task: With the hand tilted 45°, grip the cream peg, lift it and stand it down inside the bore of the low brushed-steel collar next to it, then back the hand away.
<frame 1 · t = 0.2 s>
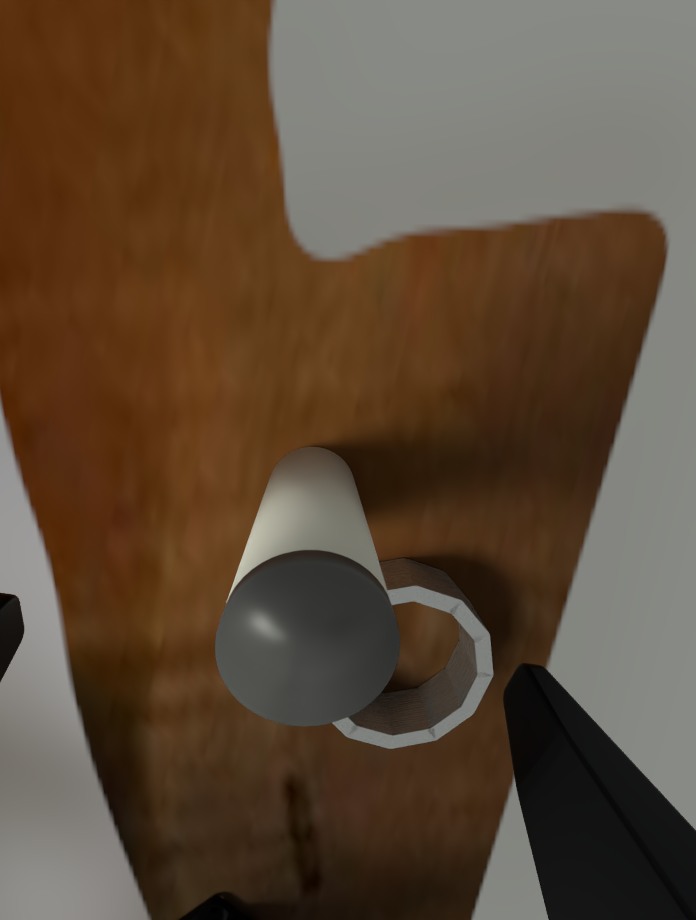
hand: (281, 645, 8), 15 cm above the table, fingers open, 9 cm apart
collar: (392, 634, 26), on the table
peg: (312, 488, 24), on the table
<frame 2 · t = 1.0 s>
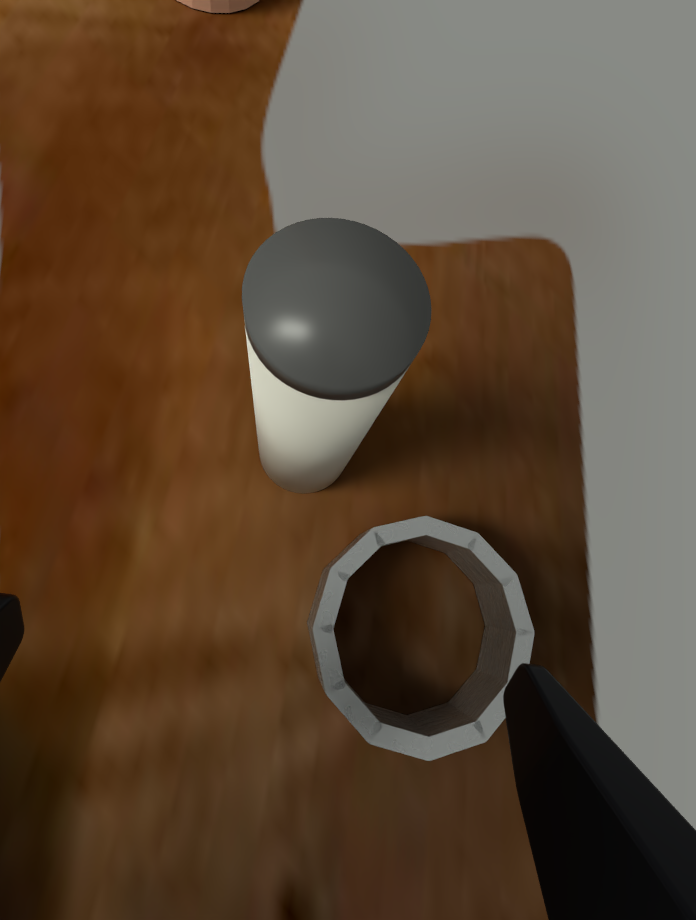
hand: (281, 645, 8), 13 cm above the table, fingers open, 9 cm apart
collar: (407, 623, 22), on the table
peg: (303, 450, 23), on the table
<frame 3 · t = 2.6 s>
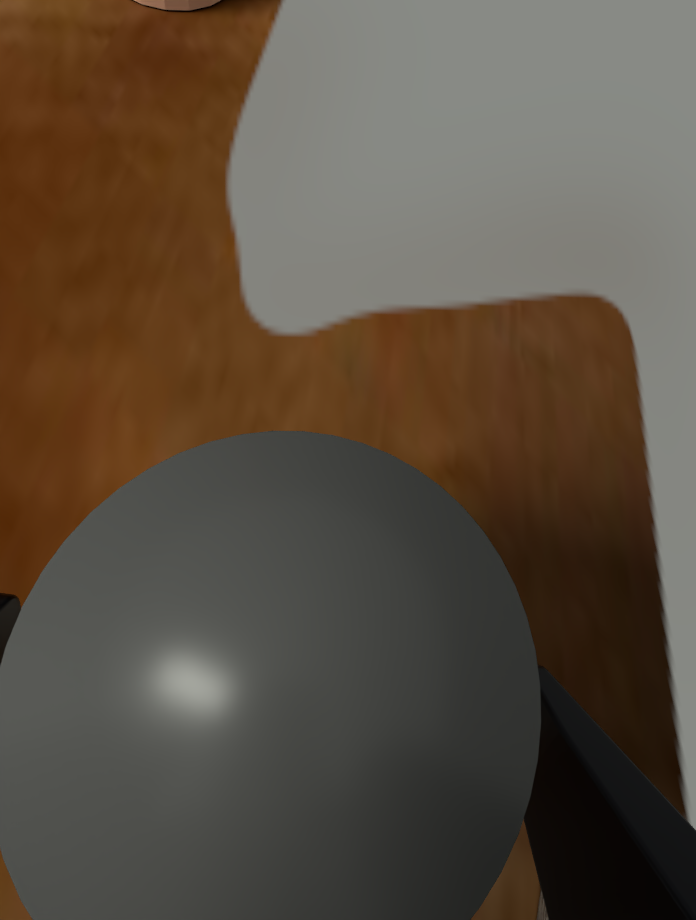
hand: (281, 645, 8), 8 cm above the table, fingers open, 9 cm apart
peg: (277, 612, 16), on the table
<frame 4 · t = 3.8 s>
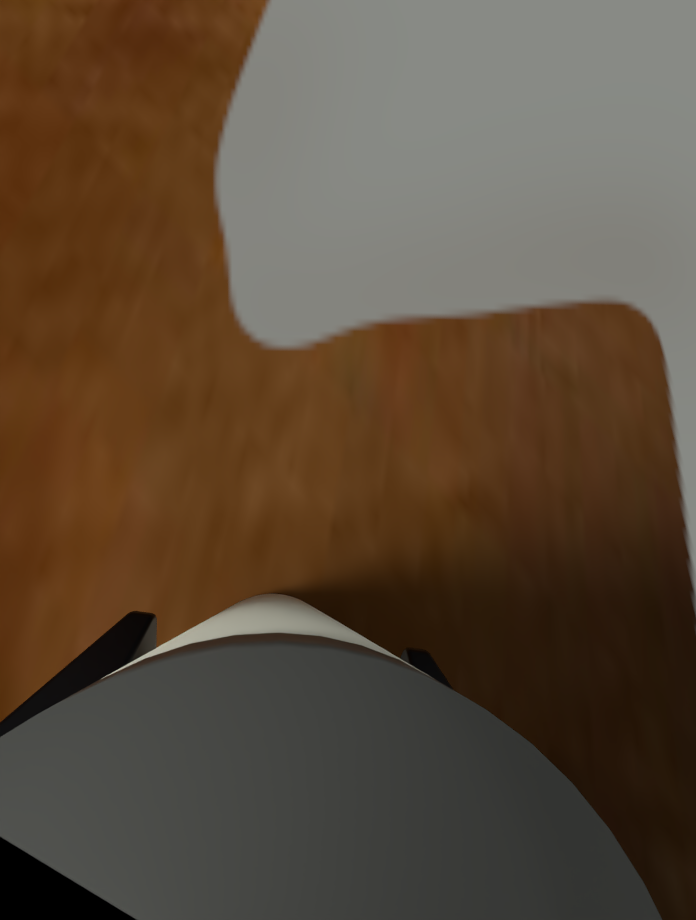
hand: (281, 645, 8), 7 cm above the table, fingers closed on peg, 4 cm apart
peg: (269, 668, 14), on the table, touching gripper
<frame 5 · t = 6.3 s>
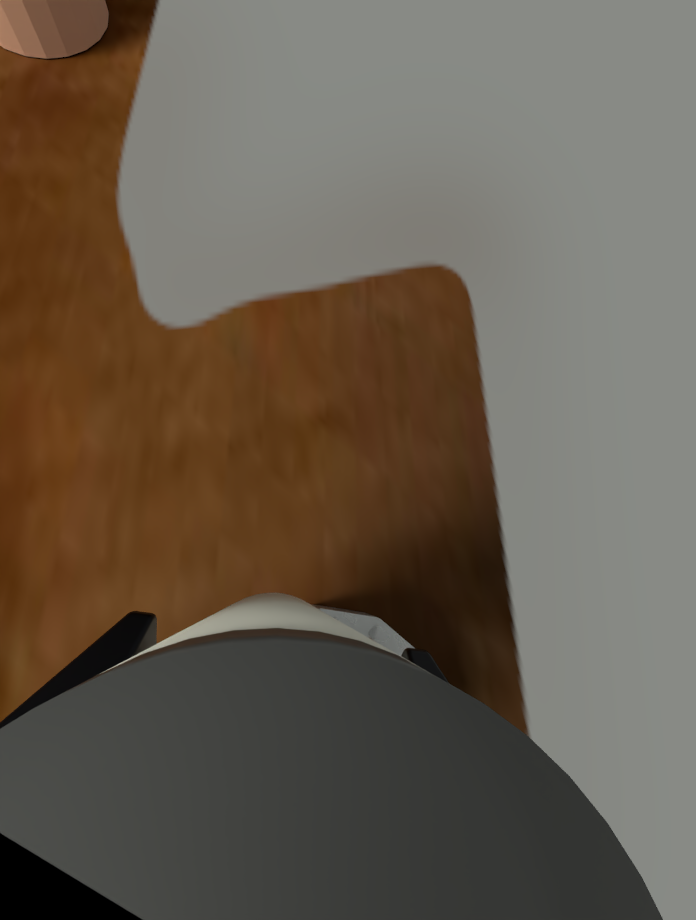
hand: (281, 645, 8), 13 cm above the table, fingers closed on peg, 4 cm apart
collar: (322, 715, 20), on the table
peg: (268, 667, 14), point 7 cm above the table, touching gripper
pepper shaker: (45, 16, 28), on the table
when the fingers open (7 cm above the table, at t = 8.6 s): peg stays where it is, resting in collar.
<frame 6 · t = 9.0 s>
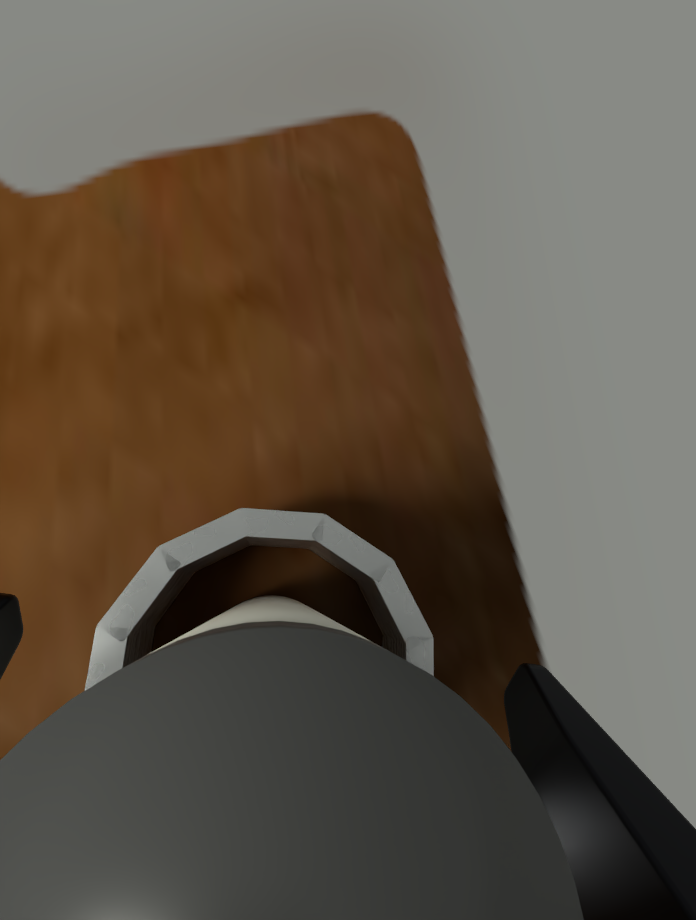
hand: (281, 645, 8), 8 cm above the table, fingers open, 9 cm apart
collar: (269, 662, 15), on the table
peg: (268, 665, 15), resting in collar
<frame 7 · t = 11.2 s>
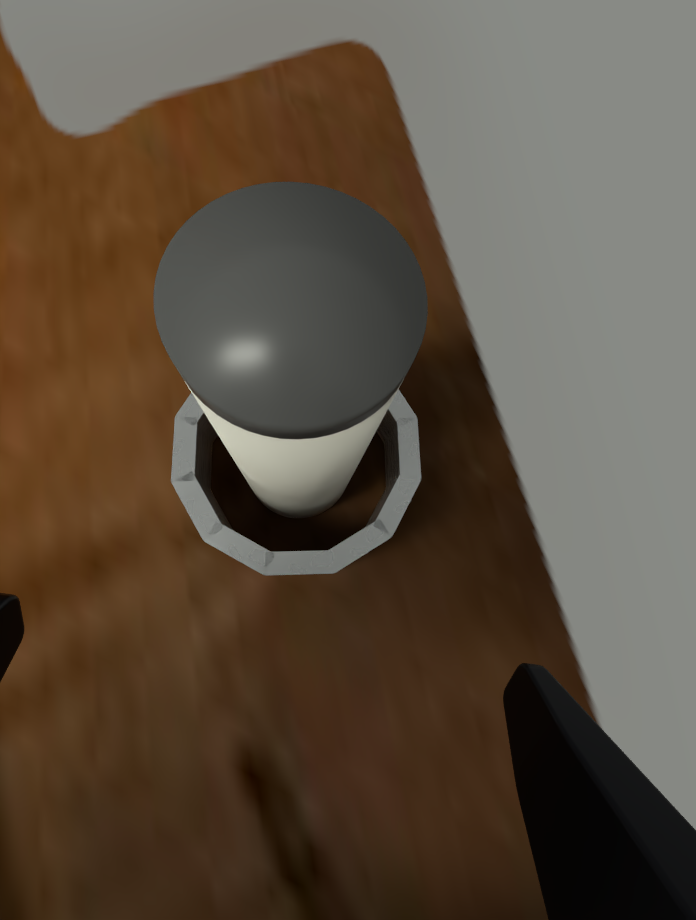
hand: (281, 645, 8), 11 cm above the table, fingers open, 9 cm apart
collar: (299, 465, 20), on the table
peg: (299, 467, 20), resting in collar
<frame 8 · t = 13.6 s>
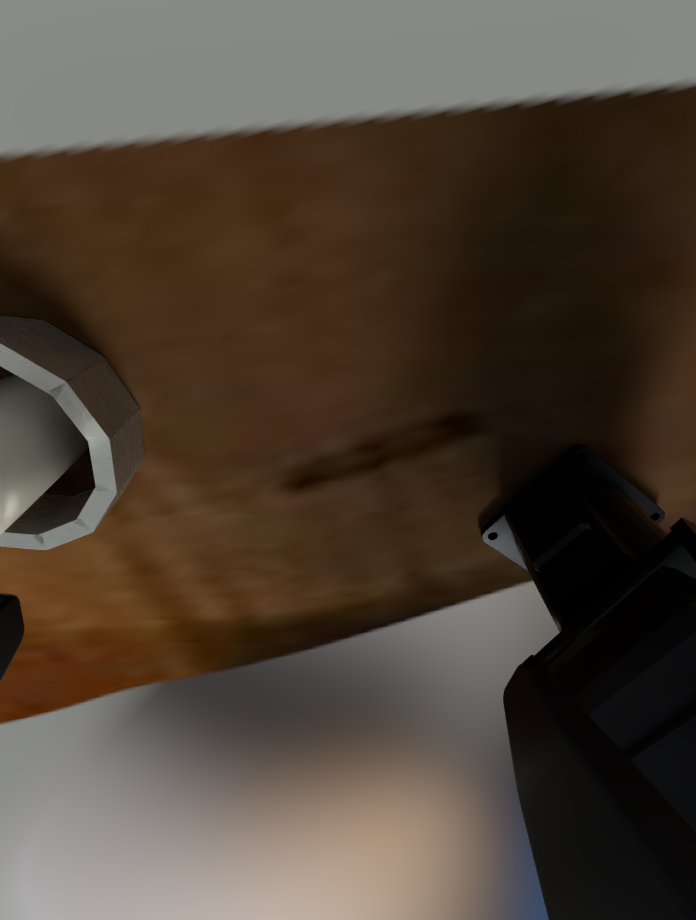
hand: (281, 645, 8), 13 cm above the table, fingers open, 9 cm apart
collar: (36, 422, 20), on the table
peg: (38, 423, 20), resting in collar
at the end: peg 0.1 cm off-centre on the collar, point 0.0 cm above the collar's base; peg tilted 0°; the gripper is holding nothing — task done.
